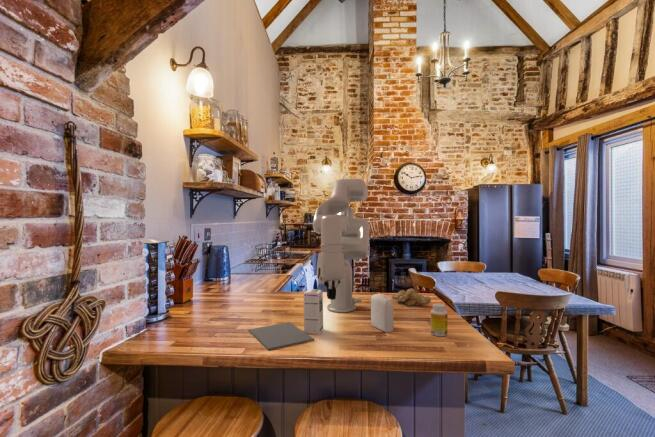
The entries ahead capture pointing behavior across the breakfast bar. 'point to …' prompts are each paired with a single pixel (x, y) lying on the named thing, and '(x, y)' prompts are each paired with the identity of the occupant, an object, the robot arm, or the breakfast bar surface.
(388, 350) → the breakfast bar surface
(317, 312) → the syrup box
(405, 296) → the ginger root
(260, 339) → the mat
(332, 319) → the breakfast bar surface
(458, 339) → the breakfast bar surface
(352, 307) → the robot arm
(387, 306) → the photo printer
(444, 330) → the supplement bottle
